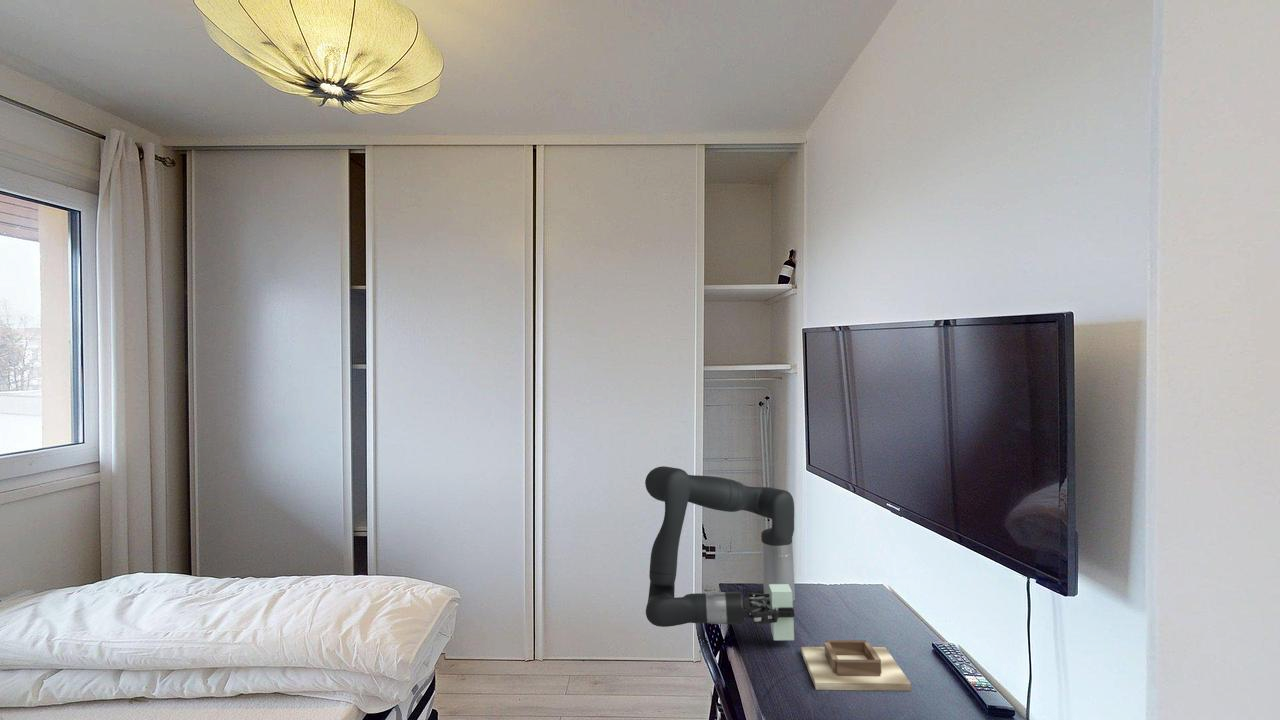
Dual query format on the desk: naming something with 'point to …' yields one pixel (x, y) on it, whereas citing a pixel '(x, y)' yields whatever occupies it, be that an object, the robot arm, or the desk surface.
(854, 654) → the socket board
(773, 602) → the pillar
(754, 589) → the desk surface
